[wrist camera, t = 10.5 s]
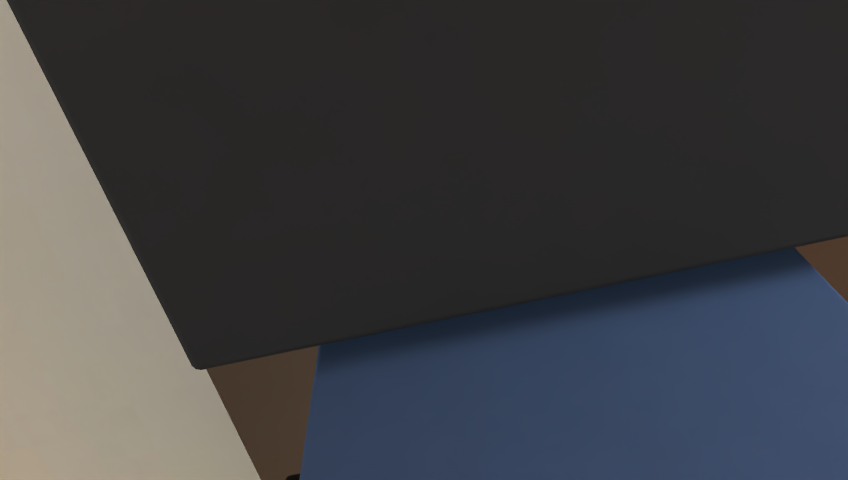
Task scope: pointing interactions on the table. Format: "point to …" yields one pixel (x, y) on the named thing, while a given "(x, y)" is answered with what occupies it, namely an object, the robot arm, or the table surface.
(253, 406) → the board
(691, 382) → the blue rectangular block
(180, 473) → the table surface
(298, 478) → the robot arm
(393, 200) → the black rectangular block
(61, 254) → the table surface
